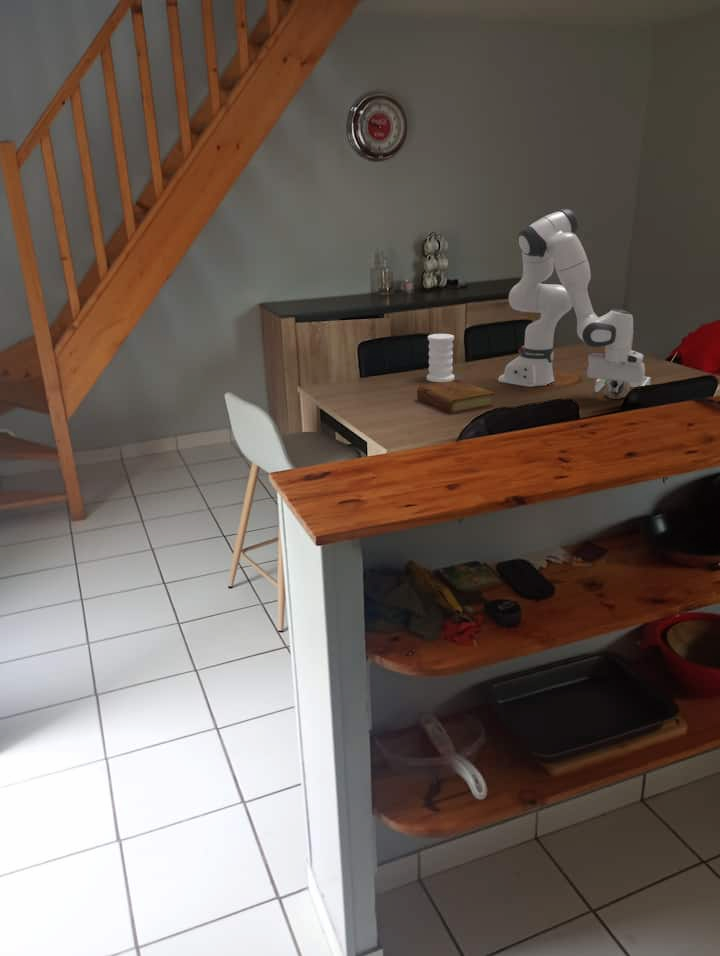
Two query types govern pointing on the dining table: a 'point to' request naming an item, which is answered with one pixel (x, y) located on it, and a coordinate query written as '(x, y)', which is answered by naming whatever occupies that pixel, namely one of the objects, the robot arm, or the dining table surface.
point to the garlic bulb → (622, 391)
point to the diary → (455, 396)
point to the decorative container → (440, 358)
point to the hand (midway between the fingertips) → (613, 391)
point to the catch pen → (646, 381)
